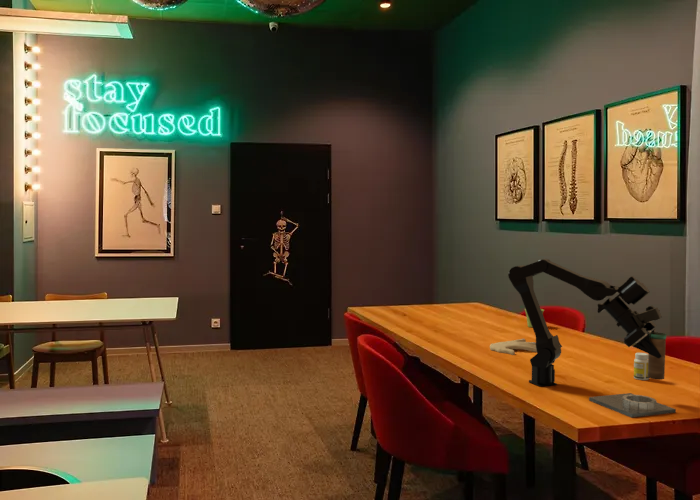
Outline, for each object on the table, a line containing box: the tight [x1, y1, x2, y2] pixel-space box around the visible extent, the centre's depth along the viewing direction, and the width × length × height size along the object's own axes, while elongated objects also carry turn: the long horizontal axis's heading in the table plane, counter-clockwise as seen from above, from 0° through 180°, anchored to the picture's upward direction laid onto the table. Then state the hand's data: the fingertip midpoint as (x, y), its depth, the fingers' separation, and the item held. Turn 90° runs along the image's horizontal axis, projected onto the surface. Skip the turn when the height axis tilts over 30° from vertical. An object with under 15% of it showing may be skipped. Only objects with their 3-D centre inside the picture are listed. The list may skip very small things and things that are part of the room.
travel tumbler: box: [647, 331, 667, 381], centre depth 188 cm, size 5×5×13 cm
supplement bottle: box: [633, 352, 650, 381], centre depth 215 cm, size 5×5×8 cm
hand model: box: [489, 338, 537, 356], centre depth 260 cm, size 19×5×20 cm
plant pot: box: [524, 308, 545, 328], centre depth 318 cm, size 9×9×9 cm
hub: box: [588, 392, 677, 419], centre depth 182 cm, size 15×17×3 cm
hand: (661, 356), depth 187 cm, fingers closed on travel tumbler, 4 cm apart
